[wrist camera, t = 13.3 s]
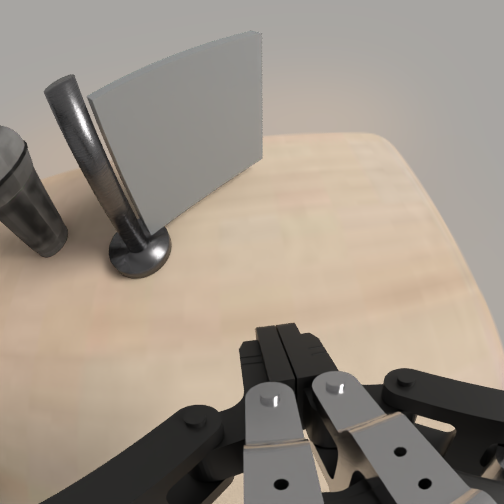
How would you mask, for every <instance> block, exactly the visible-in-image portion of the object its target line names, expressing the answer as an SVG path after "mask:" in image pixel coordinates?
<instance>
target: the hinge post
mask: <svg viewBox="0 0 504 504" xmlns="http://www.w3.org/2000/svg"><path fill="white" fill-rule="evenodd" d="M44 94H45V96H46V98H47V101H48V103H49V105H50V107H51V110H52V112H53V114H54V116H55V118H56V121H57V123H58V125H59V127H60V129H61V131H62V133H63V135H64V137H65V139H66V141H67V143H68V145H69V147H70V149H71V151H72V153H73V155H74V157H75V159H76V161H77V163H78V164H79V167H80V168H81V170H82V172H83V174H84V176H85V178H86V179H87V181H88V183H89V185H90V187H91V188H92V190H93V192H94V194H95V195H96V197H97V199H98V201H99V202H100V204H101V206H102V207H103V209H104V211H105V213H106V214H107V216H108V218H109V219H110V221H111V222H112V224H113V226H114V227H115V229H116V231H117V232H116V234H115V235H114V237H113V238H112V240H111V243H110V247H109V257H110V260H111V262H112V264H113V265H114V267H115V268H116V269H117V270H118V272H120V273H121V274H122V275H124V276H126V277H129V278H144V277H147V276H150V275H152V274H153V273H155V272H157V271H158V270H159V269H160V268H161V267H162V266H163V265H164V264H165V263H166V261H167V259H168V258H169V255H170V252H171V239H170V236H169V234H168V231H167V229H166V228H165V226H164V227H162V228H161V229H160V230H158V231H157V232H156V233H154V234H153V235H152V236H151V234H150V233H149V232H148V231H147V230H146V229H145V227H144V225H143V223H142V221H141V219H137V218H136V216H135V214H134V212H133V210H132V208H131V206H130V204H129V202H128V200H127V198H126V196H125V194H124V192H123V190H122V188H121V186H120V184H119V182H118V180H117V177H116V175H115V173H114V171H113V169H112V167H111V164H110V162H109V160H108V158H107V156H106V153H105V151H104V149H103V146H102V144H101V142H100V140H99V137H98V135H97V133H96V130H95V128H94V125H93V123H92V121H91V118H90V115H89V113H88V110H87V108H86V105H85V103H84V100H83V97H82V95H81V93H80V89H79V87H78V84H77V81H76V79H75V76H74V75H68V76H65V77H62V78H60V79H59V80H57V81H55V82H54V83H52V84H51V85H49V86H48V87H47V88H46V89H45V91H44Z"/></svg>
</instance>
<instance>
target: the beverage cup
mask: <svg viewBox="0 0 504 504" xmlns="http://www.w3.org/2000/svg"><path fill="white" fill-rule="evenodd" d="M27 148H28V147H27V143H26V142H25V141H24V140H22V138H21V137H20V135H19V134H18V133H16V132H15V131H14V130H12V129H10V128H8V127H4V126H0V221H1V222H2V223H3V224H4V225H5V226H6V227H8V228H9V229H10V230H11V231H12V232H13V233H14V234H15V235H16V236H18V237H19V238H20V239H21V240H22V241H23V242H24V243H26V244H27V245H28V246H29V247H30V248H31V249H33V250H35V251H36V252H37V253H39V254H40V255H41V256H43V257H50V256H52V255H54V254H56V253H57V252H58V251H59V250H60V249H61V248H62V247H63V246H64V244H65V242H66V240H67V236H68V230H67V228H66V226H65V225H64V223H63V221H62V218H61V216H60V215H59V213H58V211H57V210H56V208H55V206H54V204H53V202H52V201H51V199H50V197H49V195H48V193H47V192H46V190H45V188H44V186H43V184H42V182H41V180H40V179H39V177H38V175H37V173H36V171H35V169H34V167H33V163H32V160H31V157H30V154H29V151H28V149H27Z"/></svg>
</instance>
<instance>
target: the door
mask: <svg viewBox="0 0 504 504" xmlns="http://www.w3.org/2000/svg"><path fill="white" fill-rule="evenodd" d="M87 98H88V101H89V103H90V106H91V109H92V111H93V114H94V116H95V119H96V122H97V124H98V126H99V129H100V131H101V133H102V136H103V139H104V141H105V143H106V146H107V148H108V150H109V153H110V155H111V157H112V160H113V162H114V164H115V166H116V169H117V171H118V173H119V175H120V178H121V180H122V182H123V184H124V186H125V188H126V190H127V193H128V195H129V197H130V199H131V201H132V203H133V205H134V207H135V209H136V211H137V213H138V215H139V217H140V219H141V221H142V223H143V225H144V227H145V229H146V230H147V231H148V232H149V233H150V234H151V236H152V235H153V234H154V233H156V232H157V231H158V230H160V229H161V228H162V227H164V226H165V225H166V224H168V223H169V222H170V221H172V220H173V219H175V218H176V217H177V216H179V215H180V214H181V213H183V212H184V211H186V210H187V209H188V208H190V207H191V206H193V205H194V204H195V203H197V202H198V201H200V200H201V199H203V198H204V197H205V196H207V195H208V194H210V193H211V192H213V191H214V190H216V189H217V188H219V187H220V186H221V185H223V184H224V183H226V182H227V181H229V180H230V179H232V178H233V177H235V176H236V175H238V174H239V173H241V172H242V171H244V170H246V169H247V168H249V167H250V166H252V165H253V164H255V163H256V162H258V161H259V160H261V159H262V33H259V32H254V31H248V32H244V33H241V34H237V35H233V36H230V37H226V38H222V39H219V40H216V41H212V42H209V43H206V44H203V45H200V46H197V47H194V48H191V49H188V50H185V51H183V52H180V53H177V54H175V55H172V56H169V57H167V58H165V59H162V60H160V61H157V62H155V63H152V64H151V65H148V66H146V67H143V68H141V69H139V70H137V71H135V72H132V73H131V74H128V75H126V76H124V77H122V78H120V79H118V80H116V81H114V82H112V83H110V84H108V85H106V86H104V87H103V88H101V89H99V90H97V91H95V92H93V93H92V94H90V95H88V96H87Z"/></svg>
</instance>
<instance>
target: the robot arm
mask: <svg viewBox="0 0 504 504" xmlns="http://www.w3.org/2000/svg"><path fill="white" fill-rule="evenodd" d="M239 353H240V361H241V369H242V377H243V385H244V396H243V398H242V399H241V401H240V402H239V403H238V404H236V405H235V406H233V407H232V408H229V409H227V410H224V411H221V412H218V411H217V410H216V409H214V408H212V407H210V406H206V405H192V406H187V407H185V408H182V409H180V410H179V411H177V412H176V413H175V414H173V415H172V416H171V417H169V418H168V419H167V420H166V421H164V422H163V423H162V424H160V425H159V426H158V427H156V428H155V429H153V430H152V431H151V432H149V433H148V434H147V435H145V436H144V437H143V438H141V439H140V440H138V441H137V442H136V443H134V444H133V445H131V446H130V447H128V448H127V449H126V450H124V451H123V452H121V453H120V454H118V455H117V456H115V457H114V458H112V459H111V460H110V461H108V462H107V463H105V464H104V465H102V466H100V467H99V468H97V469H96V470H94V471H93V472H91V473H90V474H88V475H87V476H85V477H83V478H82V479H80V480H79V481H77V482H75V483H74V484H72V485H70V486H69V487H67V488H65V489H64V490H62V491H60V492H59V493H57V494H55V495H54V496H52V497H50V498H48V499H47V500H45V501H43V502H41V503H39V504H212V503H213V502H214V501H215V500H216V499H217V498H218V497H219V496H220V495H221V494H222V492H223V491H224V490H225V489H226V488H227V487H228V486H229V485H230V484H231V483H232V481H233V479H234V476H235V475H238V474H241V473H244V504H504V391H503V390H498V389H493V388H488V387H484V386H479V385H475V384H470V383H466V382H461V381H457V380H453V379H449V378H445V377H441V376H437V375H433V374H429V373H425V372H421V371H417V370H414V369H408V368H401V369H396V370H393V371H391V372H389V373H388V374H387V375H386V376H385V379H384V383H383V384H378V385H361V384H360V382H359V381H358V380H357V379H356V378H355V377H354V376H353V375H351V374H349V373H346V372H342V371H338V369H337V367H336V366H335V364H334V362H333V361H332V359H331V358H330V356H329V354H328V353H327V351H326V350H325V348H324V347H323V345H322V343H321V342H320V340H319V338H317V337H316V336H314V335H312V334H311V333H305V334H300V332H299V330H298V328H297V326H296V324H295V323H288V324H281V325H276V326H274V325H273V326H265V327H257V328H256V340H253V341H245V342H243V344H242V345H241V347H240V348H239ZM417 415H419V416H423V417H426V418H430V419H433V420H437V421H440V422H444V423H448V424H451V425H452V426H454V427H455V430H453V431H451V432H444V431H440V430H436V429H433V428H429V427H426V426H423V425H419V424H416V423H415V421H416V418H417ZM304 429H306V431H307V434H308V437H309V439H310V440H308V439H305V438H304V434H303V430H304ZM312 452H313V454H314V457H315V459H316V461H317V463H318V465H319V467H320V469H321V471H322V473H323V476H324V478H325V480H326V482H327V484H328V487H329V490H330V492H322V493H321V488H320V484H319V480H318V475H317V471H316V467H315V463H314V458H313V454H312Z"/></svg>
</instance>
